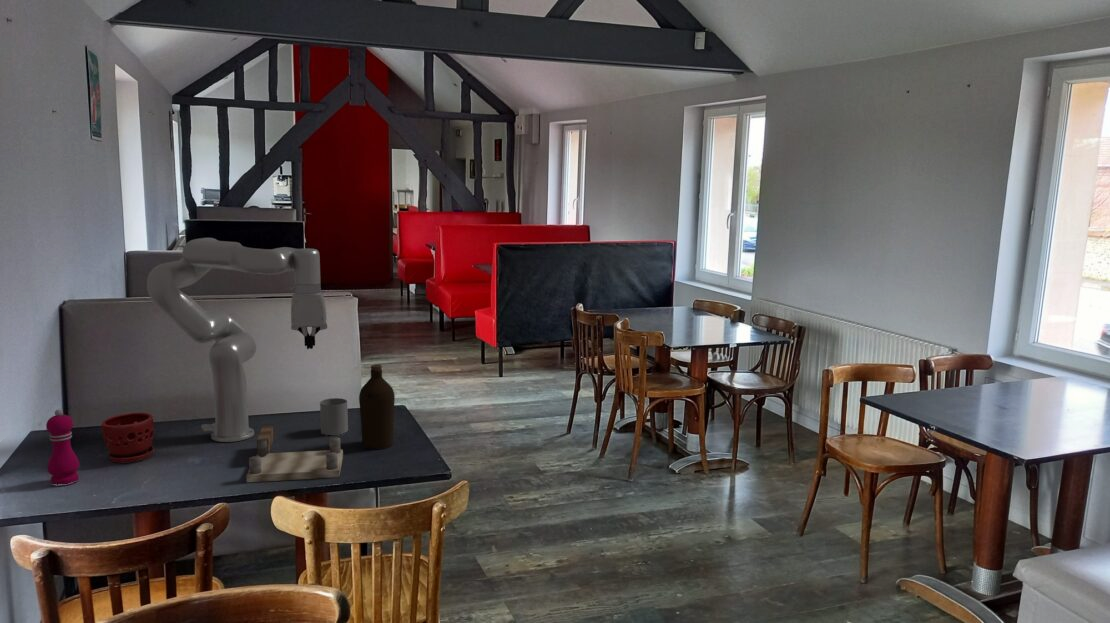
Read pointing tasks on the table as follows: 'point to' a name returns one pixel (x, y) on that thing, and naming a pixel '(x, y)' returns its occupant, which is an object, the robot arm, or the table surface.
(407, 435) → the table surface
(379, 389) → the olive oil
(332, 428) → the cup
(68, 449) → the pepper mill
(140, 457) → the plant pot
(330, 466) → the stool seat
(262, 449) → the folding leg
